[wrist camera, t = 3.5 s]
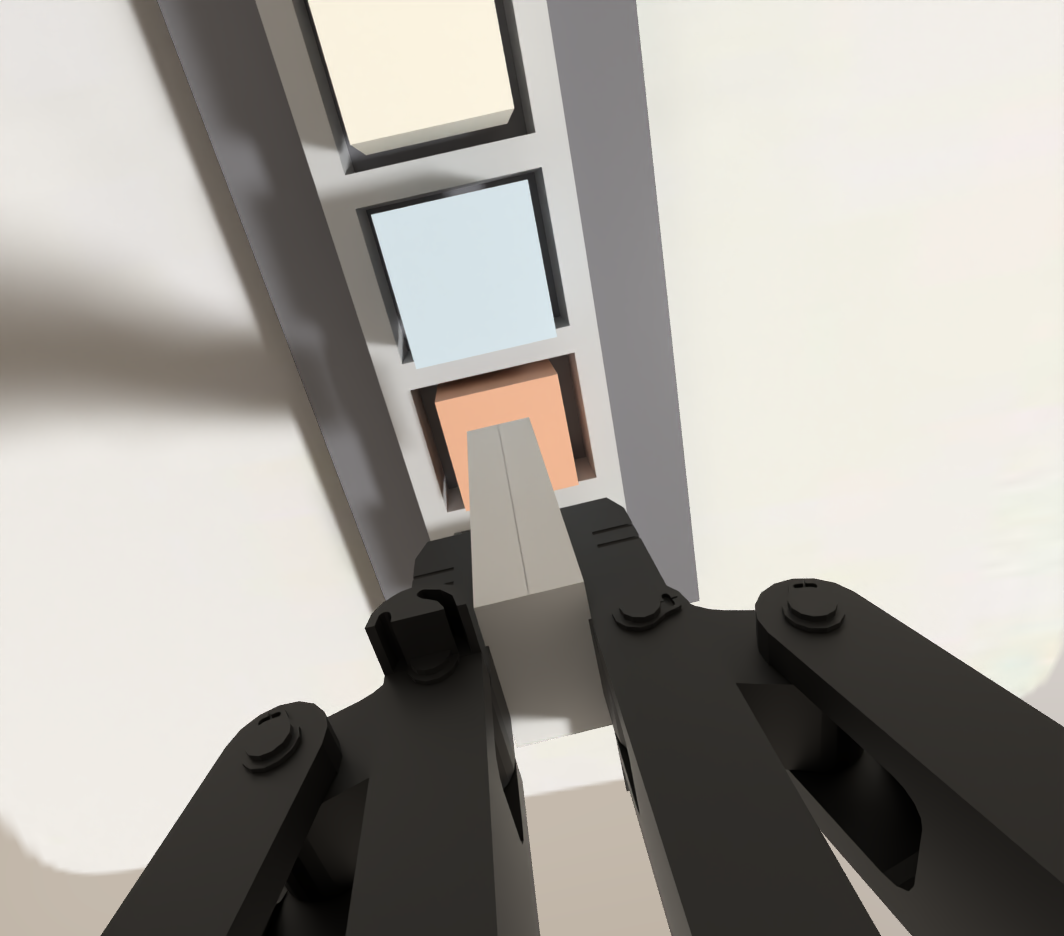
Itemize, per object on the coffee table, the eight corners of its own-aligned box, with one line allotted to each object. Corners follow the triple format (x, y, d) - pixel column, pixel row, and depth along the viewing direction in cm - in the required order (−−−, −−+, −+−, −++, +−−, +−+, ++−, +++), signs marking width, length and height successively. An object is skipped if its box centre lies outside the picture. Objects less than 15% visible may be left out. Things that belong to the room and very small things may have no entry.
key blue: (383, 215, 15) (370, 214, 13) (519, 184, 15) (527, 179, 13) (422, 351, 16) (416, 369, 14) (546, 322, 17) (557, 337, 15)
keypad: (146, -70, 15) (74, -136, 12) (603, -169, 15) (634, -256, 12) (414, 649, 25) (407, 703, 22) (689, 583, 25) (716, 629, 22)
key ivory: (314, -24, 13) (287, -69, 11) (472, -59, 13) (473, -109, 11) (366, 155, 14) (350, 145, 12) (507, 123, 14) (514, 108, 12)
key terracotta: (437, 382, 19) (434, 402, 17) (547, 357, 19) (557, 374, 17) (465, 481, 20) (465, 511, 18) (567, 458, 20) (578, 485, 18)
